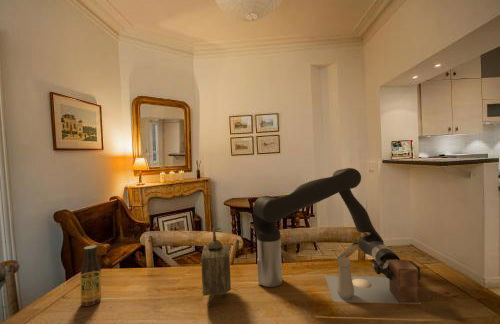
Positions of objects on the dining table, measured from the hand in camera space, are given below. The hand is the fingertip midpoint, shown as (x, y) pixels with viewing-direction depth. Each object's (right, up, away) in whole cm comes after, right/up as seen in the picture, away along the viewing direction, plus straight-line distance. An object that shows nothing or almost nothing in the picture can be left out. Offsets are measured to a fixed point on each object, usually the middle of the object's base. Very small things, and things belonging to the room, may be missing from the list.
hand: (404, 277), depth 84 cm
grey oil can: (-62, -10, +6) cm, 63 cm away
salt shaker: (-18, -8, +3) cm, 20 cm away
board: (-9, -8, +7) cm, 14 cm away
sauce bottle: (-108, -12, +7) cm, 108 cm away
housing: (0, -7, +1) cm, 7 cm away
